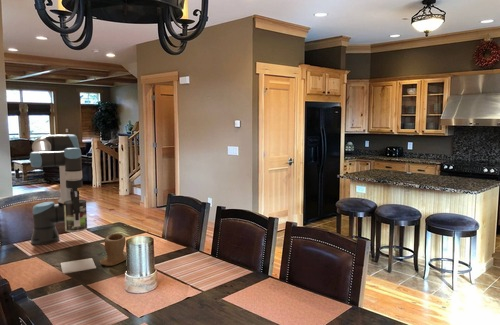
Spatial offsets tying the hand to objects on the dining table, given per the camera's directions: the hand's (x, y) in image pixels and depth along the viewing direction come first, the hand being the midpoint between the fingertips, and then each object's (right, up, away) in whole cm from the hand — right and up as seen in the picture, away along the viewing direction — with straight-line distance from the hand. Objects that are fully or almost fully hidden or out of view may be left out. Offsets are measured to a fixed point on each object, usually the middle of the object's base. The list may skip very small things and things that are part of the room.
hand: (76, 223), depth 195 cm
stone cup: (+18, -21, +7) cm, 29 cm away
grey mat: (0, -22, +2) cm, 22 cm away
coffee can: (0, -3, 0) cm, 3 cm away
